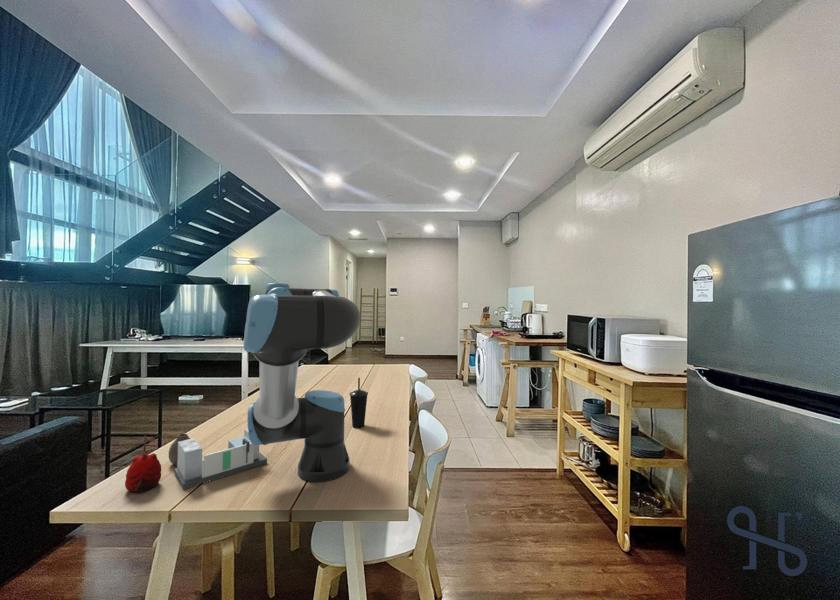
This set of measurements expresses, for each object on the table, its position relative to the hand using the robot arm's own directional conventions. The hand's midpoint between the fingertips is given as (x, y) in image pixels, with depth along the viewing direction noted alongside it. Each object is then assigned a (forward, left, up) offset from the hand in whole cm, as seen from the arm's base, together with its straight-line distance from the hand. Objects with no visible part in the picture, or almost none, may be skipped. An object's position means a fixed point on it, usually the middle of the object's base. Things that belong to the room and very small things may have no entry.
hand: (276, 397), depth 115 cm
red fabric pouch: (+2, +35, -19) cm, 39 cm away
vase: (+13, +24, -19) cm, 33 cm away
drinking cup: (+2, -35, -19) cm, 40 cm away
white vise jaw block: (0, +25, -17) cm, 30 cm away
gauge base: (0, +16, -18) cm, 24 cm away
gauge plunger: (-1, +10, -17) cm, 20 cm away
